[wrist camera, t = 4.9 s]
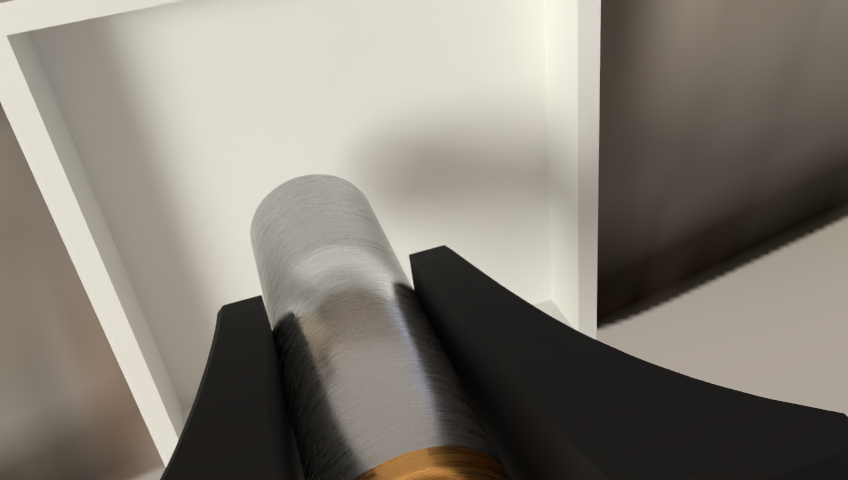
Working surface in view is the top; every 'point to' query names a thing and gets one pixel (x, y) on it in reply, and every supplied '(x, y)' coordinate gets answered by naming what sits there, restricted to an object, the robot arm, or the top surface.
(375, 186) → the tray
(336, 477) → the pin
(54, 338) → the top surface
